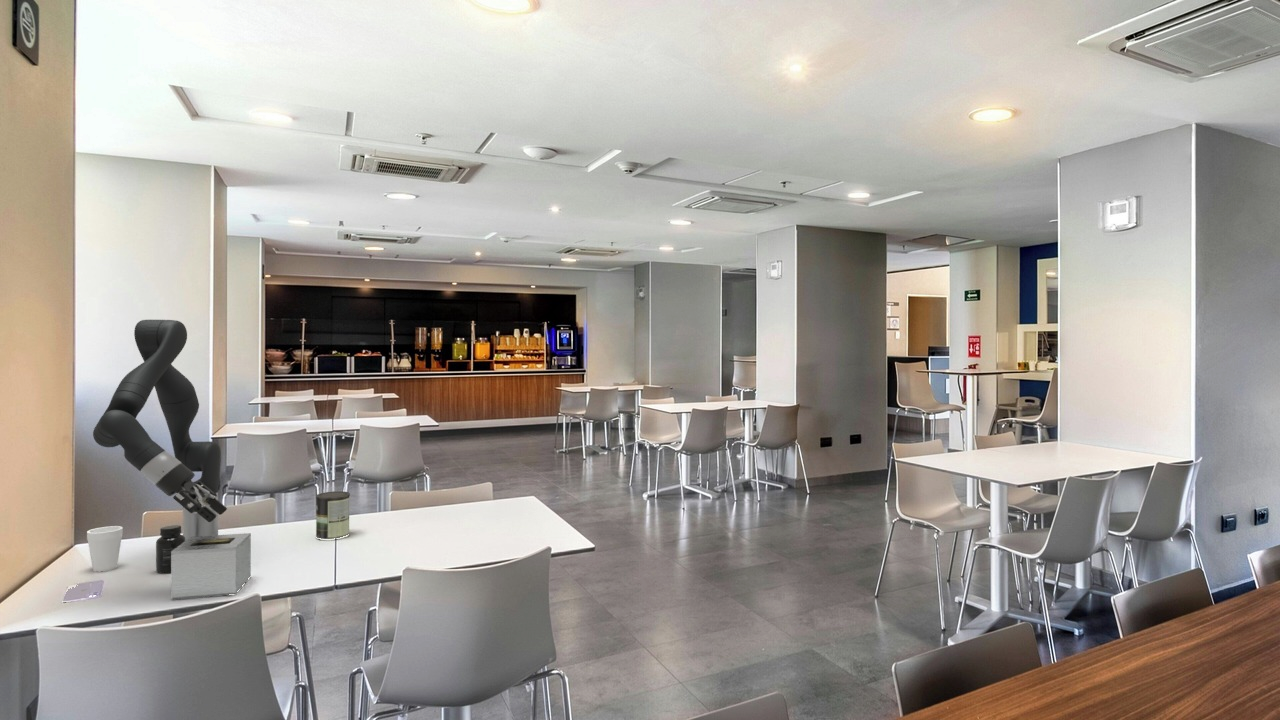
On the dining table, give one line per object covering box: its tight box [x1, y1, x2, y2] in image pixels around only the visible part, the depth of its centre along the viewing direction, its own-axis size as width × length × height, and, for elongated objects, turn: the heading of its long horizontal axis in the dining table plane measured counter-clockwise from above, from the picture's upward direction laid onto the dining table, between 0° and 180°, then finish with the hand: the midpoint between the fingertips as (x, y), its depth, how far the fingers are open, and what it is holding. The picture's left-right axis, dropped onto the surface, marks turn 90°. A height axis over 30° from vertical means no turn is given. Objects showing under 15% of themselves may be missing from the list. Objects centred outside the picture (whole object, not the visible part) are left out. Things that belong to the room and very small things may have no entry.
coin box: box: [170, 532, 252, 601], centre depth 175 cm, size 14×14×12 cm
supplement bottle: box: [155, 525, 185, 574], centre depth 189 cm, size 7×7×12 cm
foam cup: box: [86, 525, 124, 573], centre depth 190 cm, size 8×8×11 cm
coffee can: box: [315, 490, 351, 539], centre depth 225 cm, size 10×10×14 cm
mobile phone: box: [62, 579, 105, 601], centre depth 172 cm, size 8×1×15 cm
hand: (218, 515), depth 175 cm, fingers open, 8 cm apart
